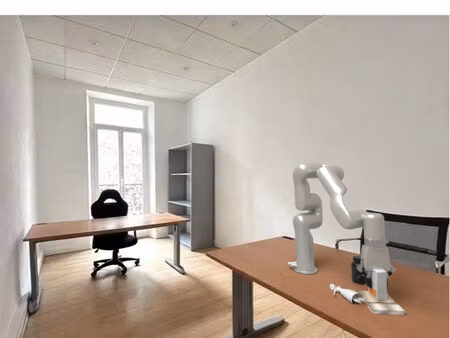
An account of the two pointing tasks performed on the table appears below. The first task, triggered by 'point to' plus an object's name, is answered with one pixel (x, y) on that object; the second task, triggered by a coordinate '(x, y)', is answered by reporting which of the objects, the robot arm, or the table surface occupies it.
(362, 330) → the table surface
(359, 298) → the woman figurine
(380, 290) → the skincare box
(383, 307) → the laid board
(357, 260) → the supplement bottle
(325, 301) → the table surface
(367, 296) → the beige flat panel
